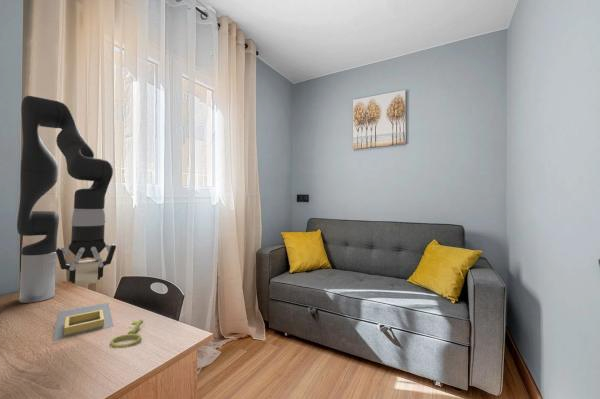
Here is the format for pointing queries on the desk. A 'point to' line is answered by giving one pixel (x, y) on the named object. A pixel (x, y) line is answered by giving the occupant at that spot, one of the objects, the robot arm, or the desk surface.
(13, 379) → the desk surface
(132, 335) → the key
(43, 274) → the robot arm
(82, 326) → the puzzle board
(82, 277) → the beech block
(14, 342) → the desk surface
